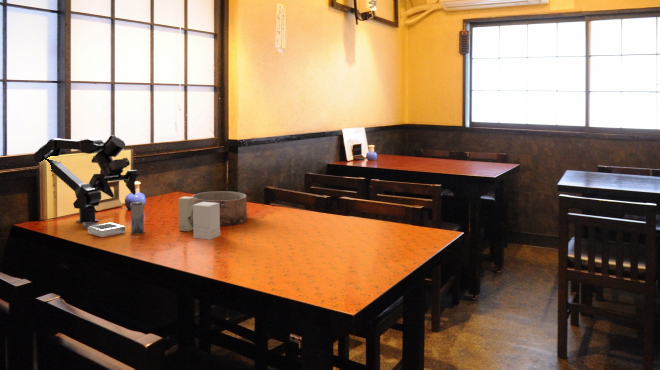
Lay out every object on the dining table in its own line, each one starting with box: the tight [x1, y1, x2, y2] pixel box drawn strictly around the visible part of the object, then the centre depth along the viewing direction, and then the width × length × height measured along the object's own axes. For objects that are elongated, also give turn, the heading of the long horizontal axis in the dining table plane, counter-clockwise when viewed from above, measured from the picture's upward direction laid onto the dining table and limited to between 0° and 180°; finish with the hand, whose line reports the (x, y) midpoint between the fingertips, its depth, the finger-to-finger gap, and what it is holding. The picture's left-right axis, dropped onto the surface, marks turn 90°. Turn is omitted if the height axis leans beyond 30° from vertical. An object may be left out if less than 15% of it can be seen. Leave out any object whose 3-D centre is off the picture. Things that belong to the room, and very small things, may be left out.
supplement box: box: [192, 202, 221, 241], centre depth 199 cm, size 7×7×13 cm
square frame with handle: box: [82, 221, 126, 238], centre depth 204 cm, size 20×9×2 cm, turn 54°
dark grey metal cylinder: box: [130, 201, 145, 235], centre depth 202 cm, size 5×5×12 cm
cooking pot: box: [192, 190, 248, 227], centre depth 226 cm, size 30×22×11 cm
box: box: [177, 195, 194, 232], centre depth 209 cm, size 5×4×13 cm
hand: (124, 195), depth 206 cm, fingers open, 9 cm apart
